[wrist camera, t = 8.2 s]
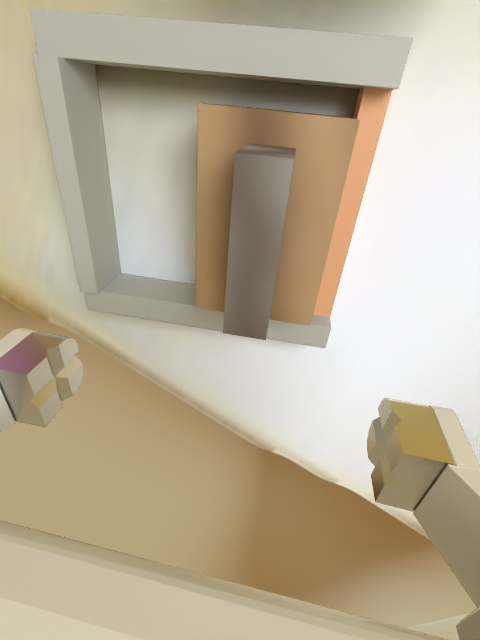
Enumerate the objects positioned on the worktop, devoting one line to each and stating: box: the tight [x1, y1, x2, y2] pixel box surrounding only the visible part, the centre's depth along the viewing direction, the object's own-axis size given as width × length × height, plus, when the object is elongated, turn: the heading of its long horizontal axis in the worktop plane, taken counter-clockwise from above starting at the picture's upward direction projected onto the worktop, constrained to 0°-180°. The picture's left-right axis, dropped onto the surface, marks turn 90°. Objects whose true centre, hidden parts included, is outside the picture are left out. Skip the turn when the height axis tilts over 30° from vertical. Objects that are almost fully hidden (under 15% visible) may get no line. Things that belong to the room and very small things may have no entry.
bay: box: [29, 8, 413, 348], centre depth 23 cm, size 20×19×4 cm
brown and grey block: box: [196, 103, 360, 340], centre depth 20 cm, size 8×12×10 cm, turn 175°
